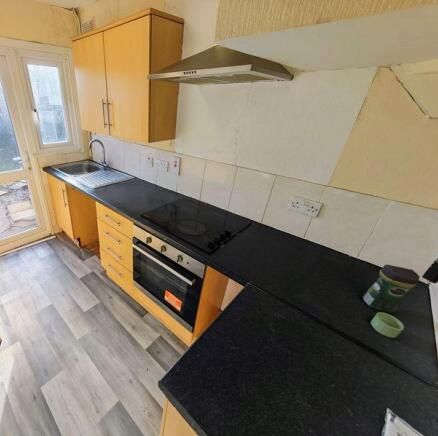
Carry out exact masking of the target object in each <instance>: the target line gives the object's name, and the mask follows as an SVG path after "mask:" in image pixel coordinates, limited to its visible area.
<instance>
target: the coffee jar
mask: <svg viewBox="0 0 438 436" xmlns="http://www.w3.org/2000/svg"><path fill="white" fill-rule="evenodd" d="M419 281H420V275H419V274H418V273H417V272H416V271H415V270H414V269H411V268H406V267H401V266H397V265H392V264H384V265H383V266H382V267H381V268H380V270H379V275H378V277H377V278H376V280H375V281H374V282H373V284H372V285H371V286H370V287H369V288H368V289H367V290H366V291H365V292H364V294H363V295H362V299H363V301H364V303H365V304H366V305H367V306H369V307H370V308H372V309H373V310H377V311H380V312H383V313H388V314H394V313H396V312H397V310H398V309H399V307H400V305H401V304H402V301H403V300H404V298H405V296H406V295H407V293H408V292H409V291H410V290H411V289H414V288H415V287H416V286H417V284H418V282H419Z"/></svg>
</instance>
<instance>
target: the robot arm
mask: <svg viewBox="0 0 438 436" xmlns="http://www.w3.org/2000/svg"><path fill="white" fill-rule="evenodd" d="M421 277H422V279H425V281H428V282H430V283H432V284H437V283H438V253H437V255H435V257H434V260H433V263H431V264H430V265H429V266H428V268H427V269H426V270H425V272H424V273H423V274H422V276H421Z"/></svg>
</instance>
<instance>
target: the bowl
mask: <svg viewBox="0 0 438 436" xmlns="http://www.w3.org/2000/svg"><path fill="white" fill-rule="evenodd" d="M370 325H371V326H372V328H373V329H374V330H375V331H376V332H378V333H379V334H381V335H382V336H385V337H388V338H393V339H394V338H397V337H398V336H399V335H400V334H401V333H402V332H403V331H404V329H405V326H404V324H403V322H402V321H401V320H399V319H398V318H397V317H395V316H393V315H391V314H390V313H387V312H383V311H380V312H377V313H376V314H375V315H374V316H373V318H372V319H371V320H370Z"/></svg>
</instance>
